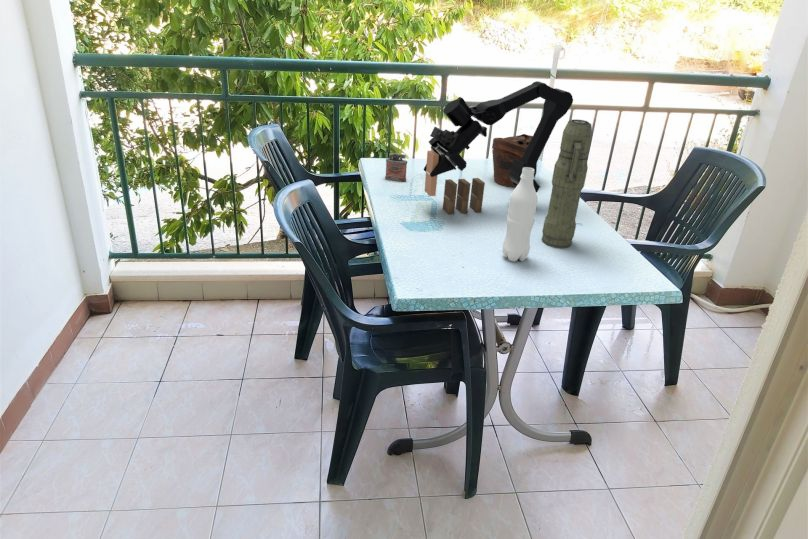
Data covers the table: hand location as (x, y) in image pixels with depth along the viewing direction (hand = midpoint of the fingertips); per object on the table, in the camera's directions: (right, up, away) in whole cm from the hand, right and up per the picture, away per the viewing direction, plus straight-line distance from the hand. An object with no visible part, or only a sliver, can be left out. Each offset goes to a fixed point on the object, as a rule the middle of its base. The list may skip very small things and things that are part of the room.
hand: (427, 173), depth 174 cm
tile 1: (+16, -10, +12) cm, 22 cm away
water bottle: (+23, -27, -20) cm, 41 cm away
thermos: (+38, -22, -9) cm, 44 cm away
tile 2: (+11, -11, +10) cm, 18 cm away
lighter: (-10, +3, +35) cm, 37 cm away
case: (+34, +3, +41) cm, 53 cm away
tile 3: (+7, -11, +9) cm, 16 cm away
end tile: (+1, -6, +3) cm, 7 cm away
